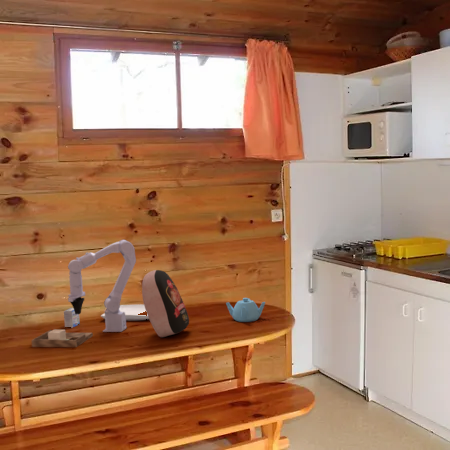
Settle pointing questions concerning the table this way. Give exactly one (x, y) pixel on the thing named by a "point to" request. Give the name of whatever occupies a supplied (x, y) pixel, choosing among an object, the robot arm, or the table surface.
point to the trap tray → (70, 341)
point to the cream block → (57, 335)
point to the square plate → (132, 312)
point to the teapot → (245, 310)
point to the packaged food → (163, 304)
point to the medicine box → (71, 318)
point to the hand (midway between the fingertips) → (78, 313)
